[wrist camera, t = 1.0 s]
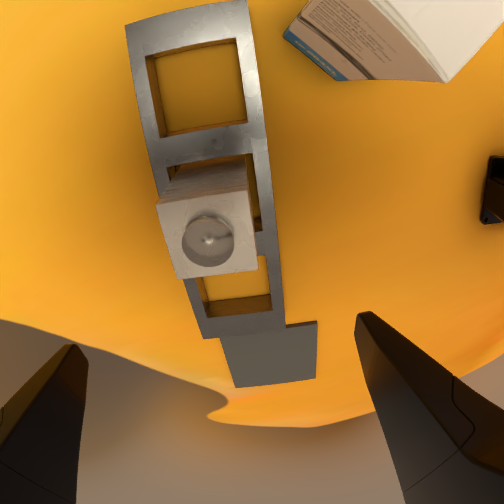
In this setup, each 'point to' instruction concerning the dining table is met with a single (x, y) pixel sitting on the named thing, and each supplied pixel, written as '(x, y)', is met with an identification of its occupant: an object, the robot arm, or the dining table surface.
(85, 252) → the dining table surface
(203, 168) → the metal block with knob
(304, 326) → the mat
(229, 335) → the grey metal frame
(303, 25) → the ink box
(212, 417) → the dining table surface
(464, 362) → the dining table surface
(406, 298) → the dining table surface
